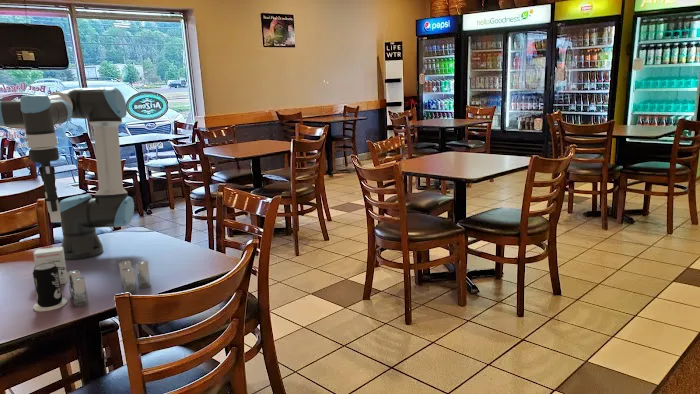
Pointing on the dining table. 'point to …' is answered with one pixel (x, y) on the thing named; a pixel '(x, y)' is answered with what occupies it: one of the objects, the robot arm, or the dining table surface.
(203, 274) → the dining table surface
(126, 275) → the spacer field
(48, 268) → the beverage can
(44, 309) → the coaster
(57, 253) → the ink box
